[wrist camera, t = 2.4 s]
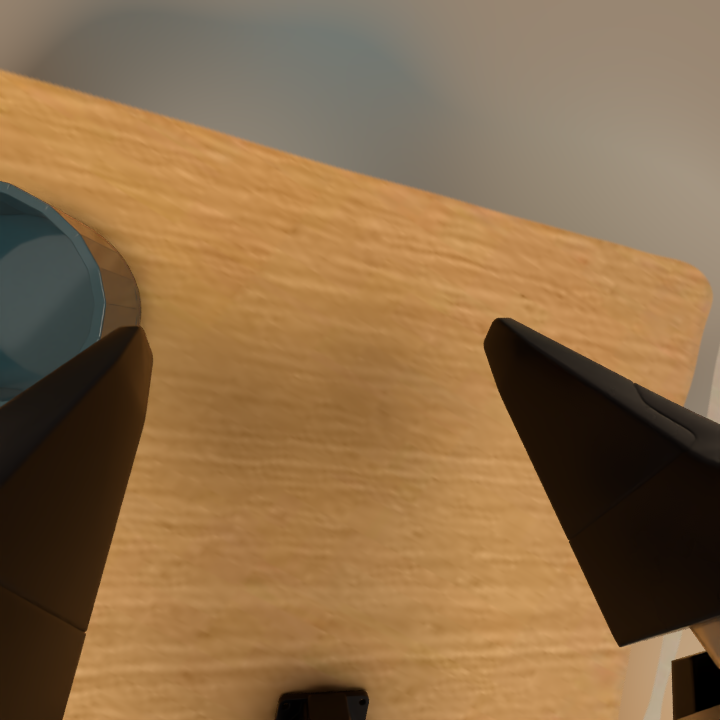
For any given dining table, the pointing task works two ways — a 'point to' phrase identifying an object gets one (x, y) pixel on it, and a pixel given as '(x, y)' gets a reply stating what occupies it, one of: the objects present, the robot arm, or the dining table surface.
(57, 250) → the cup
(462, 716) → the dining table surface
